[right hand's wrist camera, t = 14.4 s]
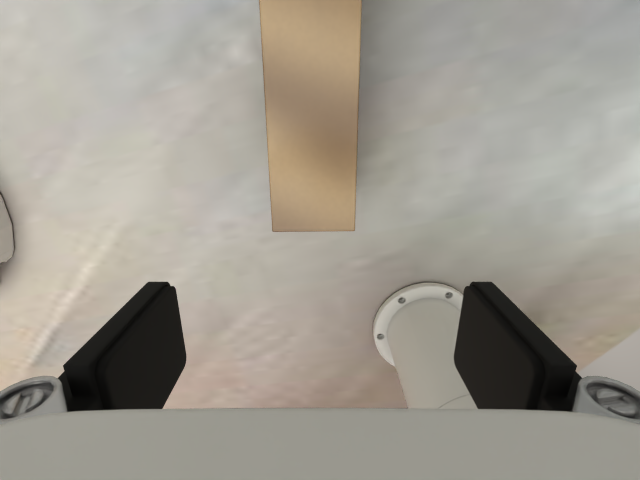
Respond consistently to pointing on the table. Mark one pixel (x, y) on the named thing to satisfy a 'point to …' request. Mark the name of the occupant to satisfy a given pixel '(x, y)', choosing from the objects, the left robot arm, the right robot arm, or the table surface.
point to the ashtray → (5, 234)
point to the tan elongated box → (311, 111)
